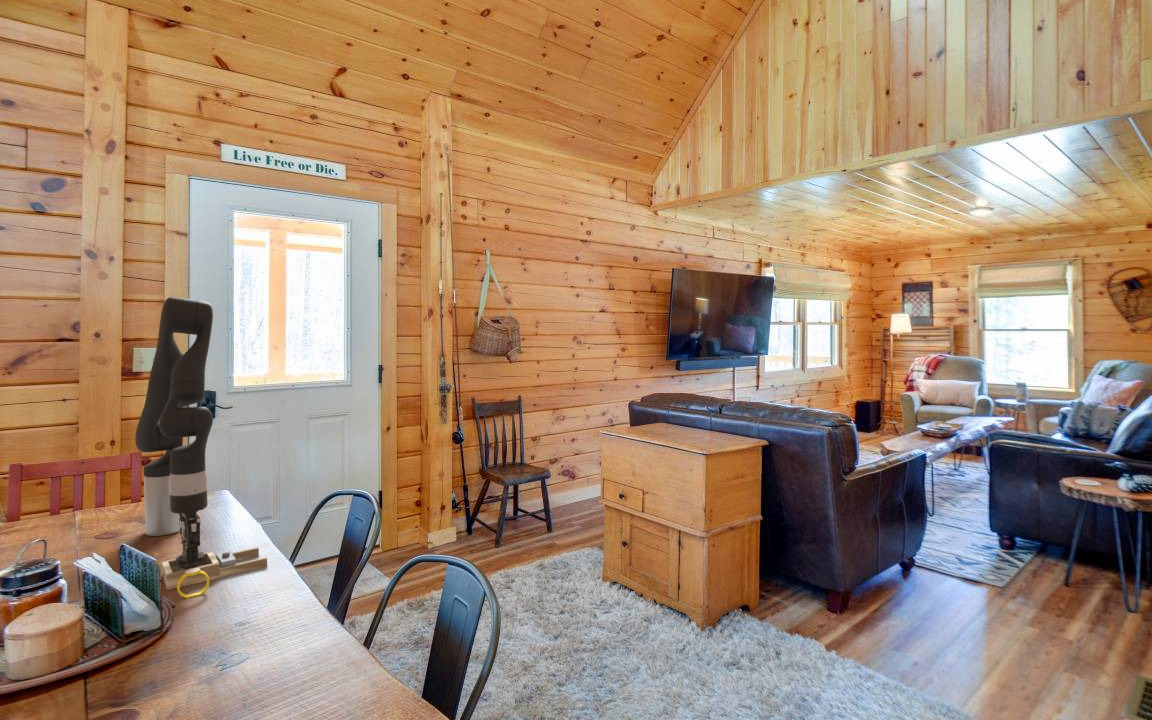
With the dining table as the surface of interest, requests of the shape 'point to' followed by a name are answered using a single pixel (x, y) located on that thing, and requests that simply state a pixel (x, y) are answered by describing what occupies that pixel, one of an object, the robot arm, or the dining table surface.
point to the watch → (191, 573)
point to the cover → (226, 559)
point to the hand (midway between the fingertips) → (190, 558)
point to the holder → (210, 568)
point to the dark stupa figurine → (183, 558)
